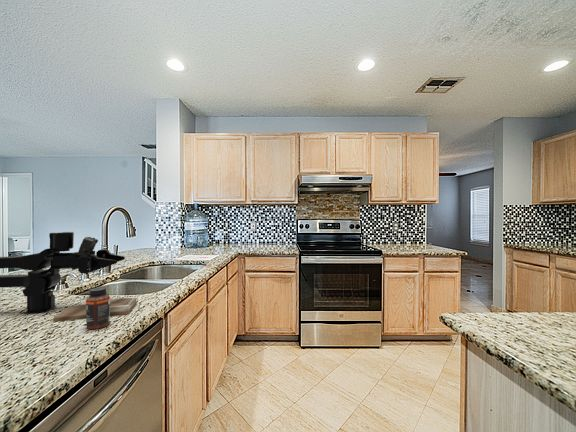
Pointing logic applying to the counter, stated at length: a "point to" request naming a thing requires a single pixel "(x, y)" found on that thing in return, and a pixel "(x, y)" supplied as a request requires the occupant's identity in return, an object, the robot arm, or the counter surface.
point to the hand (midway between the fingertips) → (120, 259)
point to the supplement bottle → (98, 308)
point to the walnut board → (116, 309)
